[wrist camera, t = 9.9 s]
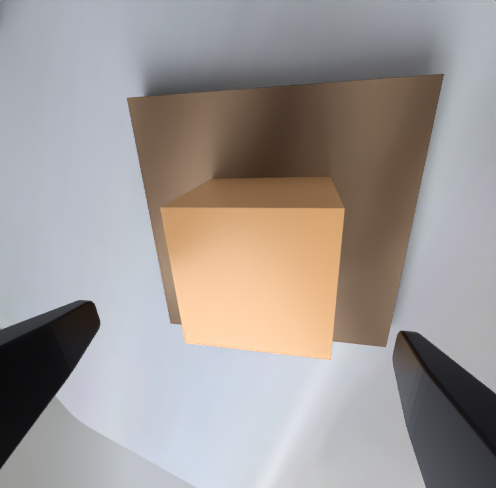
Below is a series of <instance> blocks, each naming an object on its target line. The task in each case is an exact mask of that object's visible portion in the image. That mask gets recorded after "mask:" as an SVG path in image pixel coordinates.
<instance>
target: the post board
mask: <svg viewBox="0 0 496 488" xmlns="http://www.w3.org/2000/svg"><path fill="white" fill-rule="evenodd" d="M443 76H444V74H436V75H423V76H410V77H396V78H383V79H370V80H357V81H344V82H330V83H317V84H304V85H291V86H277V87H264V88H251V89H238V90H225V91H211V92H198V93H185V94H172V95H159V96H145V97H132V98H127V101H128V106H129V111H130V117H131V122H132V127H133V132H134V137H135V142H136V147H137V153H138V158H139V163H140V168H141V173H142V178H143V183H144V189H145V194H146V199H147V204H148V209H149V214H150V219H151V224H152V230H153V235H154V240H155V245H156V250H157V255H158V260H159V266H160V271H161V276H162V281H163V286H164V291H165V296H166V302H167V307H168V312H169V317H170V322H171V323H172V324H181V325H182V323H181V318H180V312H179V307H178V301H177V296H176V291H175V285H174V280H173V275H172V269H171V264H170V259H169V253H168V248H167V242H166V237H165V232H164V226H163V221H162V216H161V210H160V207H162V206H163V205H165V204H167V203H169V202H171V201H172V200H174V199H176V198H178V197H180V196H182V195H183V194H185V193H187V192H189V191H191V190H192V189H194V188H196V187H198V186H200V185H201V184H203V183H205V182H207V181H209V180H211V179H229V178H285V177H331V179H332V181H333V183H334V185H335V188H336V190H337V192H338V194H339V197H340V199H341V201H342V203H343V206H344V208H345V210H344V221H343V232H342V243H341V253H340V264H339V275H338V286H337V296H336V307H335V318H334V329H333V339H332V341H336V342H345V343H354V344H363V345H372V346H381V347H386V345H387V340H388V335H389V331H390V326H391V321H392V317H393V312H394V307H395V302H396V298H397V293H398V288H399V284H400V279H401V274H402V269H403V265H404V260H405V255H406V250H407V246H408V241H409V236H410V232H411V227H412V222H413V217H414V213H415V208H416V203H417V199H418V194H419V189H420V184H421V180H422V175H423V170H424V166H425V161H426V156H427V151H428V147H429V142H430V137H431V133H432V128H433V123H434V118H435V114H436V109H437V104H438V100H439V95H440V90H441V85H442V81H443Z"/></svg>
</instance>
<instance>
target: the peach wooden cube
mask: <svg viewBox="0 0 496 488" xmlns="http://www.w3.org/2000/svg"><path fill="white" fill-rule="evenodd" d="M160 210H161V216H162V221H163V226H164V232H165V237H166V242H167V248H168V253H169V259H170V264H171V269H172V275H173V280H174V285H175V291H176V296H177V301H178V307H179V312H180V318H181V323H182V328H183V334H184V339H185V343H189V344H198V345H207V346H215V347H224V348H232V349H241V350H250V351H258V352H267V353H276V354H284V355H293V356H301V357H310V358H319V359H327V360H331V350H332V339H333V329H334V318H335V307H336V296H337V286H338V275H339V264H340V253H341V243H342V232H343V221H344V210H345V208H344V206H343V203H342V201H341V199H340V197H339V194H338V192H337V190H336V188H335V185H334V183H333V181H332V179H331V177H285V178H229V179H211V180H209V181H207V182H205V183H203V184H201V185H200V186H198V187H196V188H194V189H192V190H191V191H189V192H187V193H185V194H183V195H182V196H180V197H178V198H176V199H174V200H172V201H171V202H169V203H167V204H165V205H163V206H162V207H160Z"/></svg>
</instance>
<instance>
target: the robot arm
mask: <svg viewBox="0 0 496 488" xmlns="http://www.w3.org/2000/svg"><path fill="white" fill-rule="evenodd" d="M99 327H100V319H99V316H98V313H97V310H96V306H95V304H94V303H93V302H92V301H87V300H78V301H75V302H73V303H70V304H67V305H65V306H62V307H59V308H57V309H54V310H52V311H49V312H46V313H44V314H41V315H38V316H36V317H33V318H30V319H28V320H25V321H23V322H20V323H17V324H15V325H12V326H9V327H7V328H4V329H2V330H0V469H1V468H2V467H3V465H4V464H5V463H6V461H7V460H8V458H9V457H10V456H11V454H12V453H13V452H14V450H15V449H16V447H17V446H18V445H19V444H20V442H21V441H22V439H23V438H24V437H25V435H26V434H27V433H28V431H29V430H30V429H31V427H32V426H33V425H34V423H35V422H36V420H37V419H38V418H39V416H40V415H41V414H42V412H43V411H44V410H45V408H46V407H47V406H48V404H49V403H50V402H51V400H52V399H53V398H54V396H55V395H56V394H57V392H58V391H59V390H60V388H61V387H62V385H63V384H64V383H65V381H66V380H67V379H68V377H69V376H70V374H71V373H72V371H73V370H74V368H75V367H76V365H77V364H78V362H79V360H80V359H81V357H82V356H83V354H84V352H85V351H86V349H87V348H88V346H89V344H90V343H91V341H92V339H93V338H94V336H95V335H96V333H97V331H98V330H99ZM393 366H394V371H395V376H396V380H397V385H398V390H399V395H400V399H401V404H402V409H403V413H404V418H405V422H406V426H407V430H408V433H409V437H410V440H411V443H412V446H413V449H414V452H415V455H416V458H417V461H418V464H419V467H420V471H421V474H422V477H423V480H424V483H425V486H426V488H496V394H495V393H494V392H493V391H492V390H490V389H489V388H488V387H487V386H485V385H484V384H483V383H482V382H480V381H479V380H478V379H476V378H475V377H474V376H473V375H471V374H470V373H469V372H468V371H466V370H465V369H464V368H462V367H461V366H460V365H459V364H457V363H456V362H455V361H454V360H452V359H451V358H450V357H448V356H447V355H446V354H445V353H443V352H442V351H441V350H440V349H438V348H437V347H436V346H434V345H433V344H432V343H431V342H429V341H428V340H427V339H426V338H424V337H423V336H422V335H421V334H419V333H417V332H411V331H400V332H399V333H398V335H397V339H396V343H395V347H394V352H393Z"/></svg>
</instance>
